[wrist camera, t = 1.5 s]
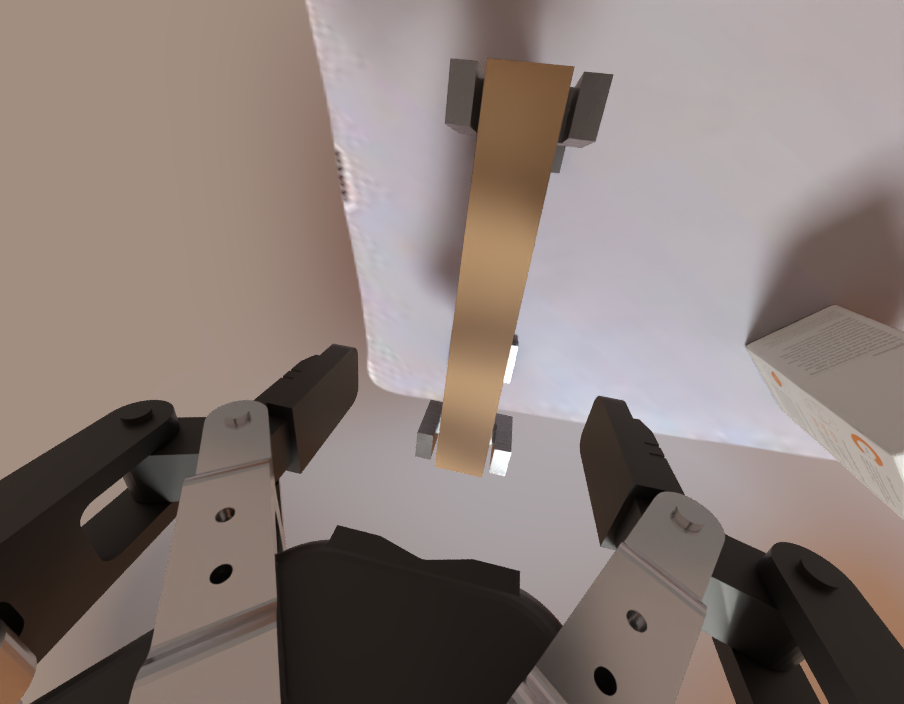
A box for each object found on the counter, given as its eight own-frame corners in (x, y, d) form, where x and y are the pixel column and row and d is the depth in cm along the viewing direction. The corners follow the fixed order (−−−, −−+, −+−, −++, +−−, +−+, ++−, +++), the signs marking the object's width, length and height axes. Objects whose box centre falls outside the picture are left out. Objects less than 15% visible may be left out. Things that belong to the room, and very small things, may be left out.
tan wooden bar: (493, 78, 15) (487, 57, 12) (564, 86, 14) (574, 66, 12) (444, 434, 24) (434, 466, 21) (486, 443, 24) (481, 477, 21)
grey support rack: (486, 97, 24) (451, 21, 12) (573, 107, 23) (626, 37, 11) (450, 366, 34) (412, 466, 22) (509, 377, 34) (503, 487, 22)
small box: (870, 377, 28) (1114, 519, 16) (780, 411, 30) (935, 553, 19) (835, 300, 26) (1086, 400, 14) (742, 344, 28) (890, 457, 17)
